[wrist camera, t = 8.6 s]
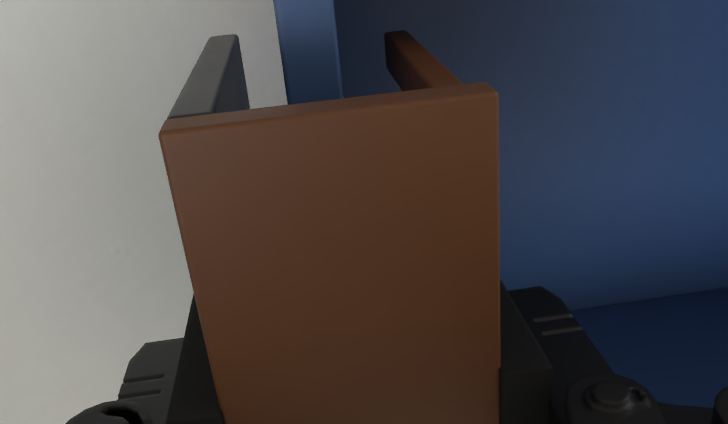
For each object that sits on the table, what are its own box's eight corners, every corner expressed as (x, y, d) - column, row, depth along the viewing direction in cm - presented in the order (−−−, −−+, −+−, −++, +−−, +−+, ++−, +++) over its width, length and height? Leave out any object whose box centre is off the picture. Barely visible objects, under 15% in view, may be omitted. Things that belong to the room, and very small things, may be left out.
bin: (328, 354, 26) (354, 585, 17) (265, -102, 19) (258, -111, 11) (770, 290, 27) (1008, 474, 18) (855, -159, 21) (1292, -209, 12)
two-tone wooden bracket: (282, 446, 18) (286, 704, 12) (208, 36, 14) (156, 132, 8) (431, 423, 19) (503, 665, 13) (405, 15, 14) (500, 91, 8)
